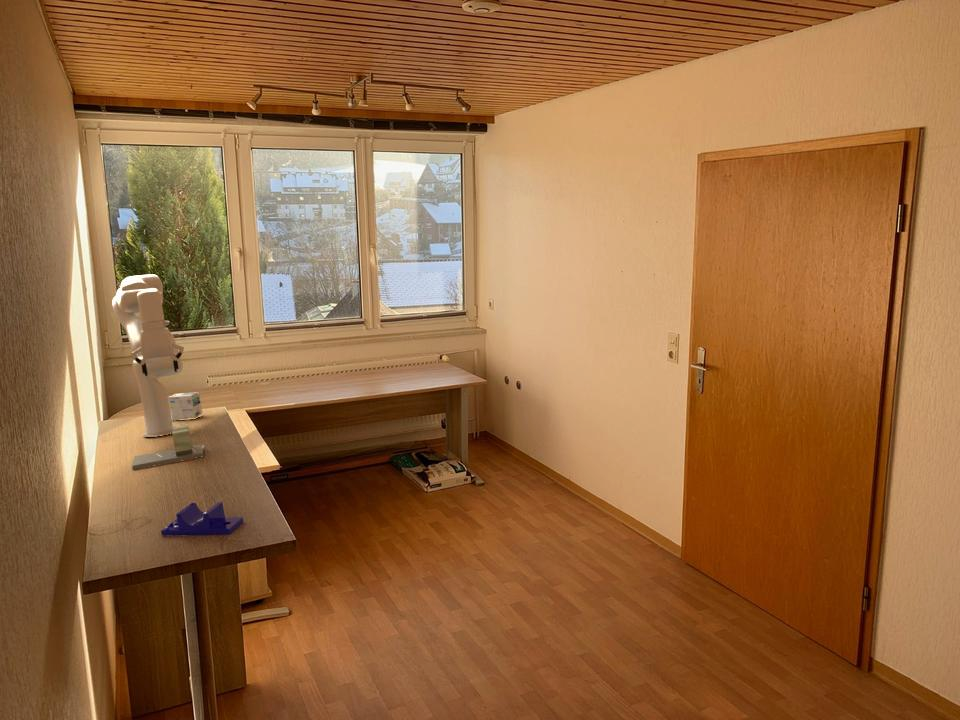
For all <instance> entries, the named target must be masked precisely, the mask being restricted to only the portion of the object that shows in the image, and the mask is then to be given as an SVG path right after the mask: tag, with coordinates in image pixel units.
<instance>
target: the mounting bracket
mask: <svg viewBox="0 0 960 720" xmlns="http://www.w3.org/2000/svg"><path fill="white" fill-rule="evenodd" d="M175 514H176V515H175V516H176V519H175V520H174V521H172V522H171V523H170V524H168V525H167V526H166V527H164V528H162V530H160V533H161V536H162V535H173V536H172V537H176V536H175V535H178V537H180V536H179V535H188V536H221V535H226V536H229V535H231V534H232V533H233V532H235V531H236V530H237V529H238V528H239V527H240V526H241V525H243V524H244V517H242V516H241V517H239V516H238V517H234V516H233V517H226V516H225V509H224V503H223V501H218V502H216V503H215V504H214V505H212V506H211V507H210V508H209V509H208V510H206V511H202V510H201V509H200V508H199V507H198V504H197V502H191V503H190V504H188V505H187V506H185V507H184V508H183V509H181V510H180V511H179V512H177V513H175Z"/></svg>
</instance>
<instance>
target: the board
mask: <svg viewBox="0 0 960 720" xmlns="http://www.w3.org/2000/svg"><path fill="white" fill-rule="evenodd" d="M204 447H205V445H203V444H196V445H192V454H187V455H181V456H176V452H175V448H174V449H167V450H163V451H157V452H150V453H147V454H145V453H144V454H141V455H134V458H133V461H132V464H131V467H132V471H134V470H135V469H136V470H140V469H139V468H141V469H145V468H144V467H147V468H149V467H148V466H152V467H154V466H153V465H158V466H160V465H159V464H163V465H168V464H167V463H169V464H173V463H172V462H174V463H178V462H177V461H179V462H182V461H181V460H185V461H188V460H187V459H190V460H192V459H191V458H195V457H201V456H204V457H205V455H204V454H205V453H203V452H204ZM201 458H202V457H201Z"/></svg>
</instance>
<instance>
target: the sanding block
mask: <svg viewBox="0 0 960 720" xmlns="http://www.w3.org/2000/svg"><path fill="white" fill-rule="evenodd" d="M171 435H172V439H173V445H174V449H175V452H176V456H181V455H187V454H192V446H193V445H192V440H191V433H190V427H189V424H188V425H183V426H181V425H180V426H174V428H173V432H172V434H171Z"/></svg>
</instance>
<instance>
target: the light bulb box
mask: <svg viewBox="0 0 960 720" xmlns="http://www.w3.org/2000/svg"><path fill="white" fill-rule="evenodd" d="M168 401H169V406H170V412H171V418H172V420H179V419H188V418H196V417H198V416H199V415H201V414H202V413H203V409H202V408H203V407H202V402H201V397H200V392H199V391H195V392H194V391H193V392H182V393H174V394H173V395H170V396H168Z"/></svg>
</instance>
